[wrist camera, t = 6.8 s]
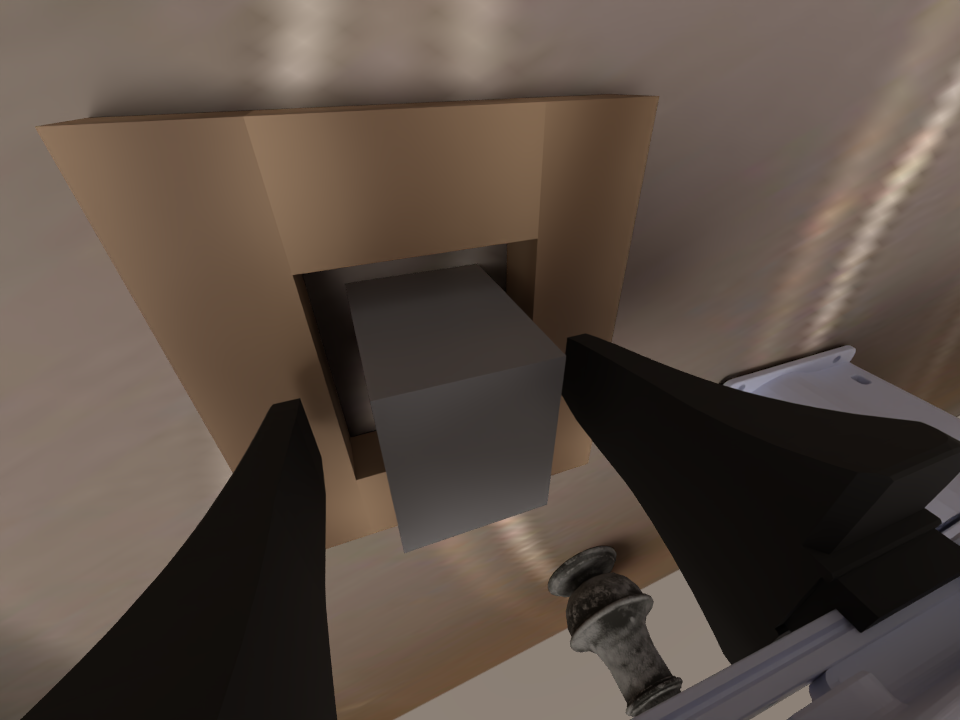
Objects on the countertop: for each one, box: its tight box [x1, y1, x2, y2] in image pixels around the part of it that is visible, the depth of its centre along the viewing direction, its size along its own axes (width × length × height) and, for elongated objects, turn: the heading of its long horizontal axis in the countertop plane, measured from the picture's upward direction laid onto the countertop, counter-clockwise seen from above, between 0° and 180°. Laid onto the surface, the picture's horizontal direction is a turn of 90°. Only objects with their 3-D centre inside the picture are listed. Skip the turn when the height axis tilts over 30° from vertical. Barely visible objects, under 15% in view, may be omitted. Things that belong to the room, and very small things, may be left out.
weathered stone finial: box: [548, 546, 682, 717], centre depth 23 cm, size 6×6×12 cm
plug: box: [345, 264, 566, 553], centre depth 11 cm, size 4×5×6 cm
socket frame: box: [35, 94, 659, 549], centre depth 12 cm, size 12×13×2 cm
